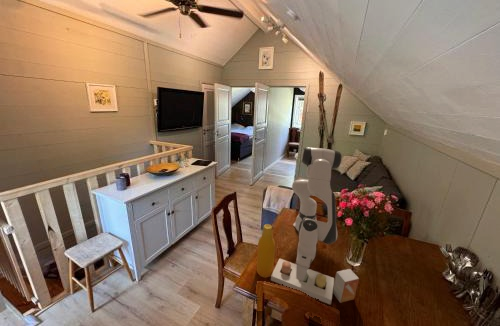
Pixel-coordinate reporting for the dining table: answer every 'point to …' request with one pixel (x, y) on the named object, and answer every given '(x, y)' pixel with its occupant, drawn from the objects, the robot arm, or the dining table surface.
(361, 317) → the dining table surface
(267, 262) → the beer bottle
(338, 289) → the small box
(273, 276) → the board
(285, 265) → the terracotta button
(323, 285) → the mustard button
